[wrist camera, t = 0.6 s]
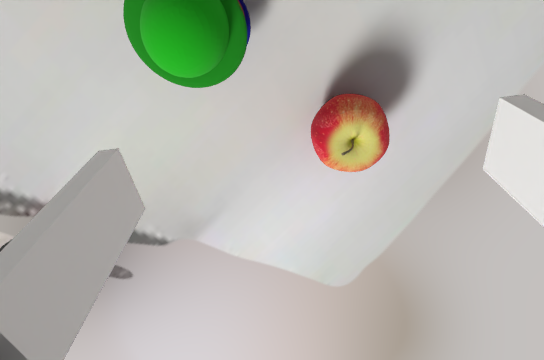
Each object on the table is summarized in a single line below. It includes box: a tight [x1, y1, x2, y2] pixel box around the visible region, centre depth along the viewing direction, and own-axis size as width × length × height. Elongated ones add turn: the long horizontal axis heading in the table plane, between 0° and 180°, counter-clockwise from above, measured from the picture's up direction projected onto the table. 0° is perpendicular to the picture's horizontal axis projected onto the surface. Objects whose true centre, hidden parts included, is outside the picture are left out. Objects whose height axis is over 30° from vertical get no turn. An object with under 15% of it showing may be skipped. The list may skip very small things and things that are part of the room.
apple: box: [311, 94, 389, 172], centre depth 35 cm, size 8×8×10 cm
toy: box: [124, 0, 251, 88], centre depth 27 cm, size 9×9×15 cm
